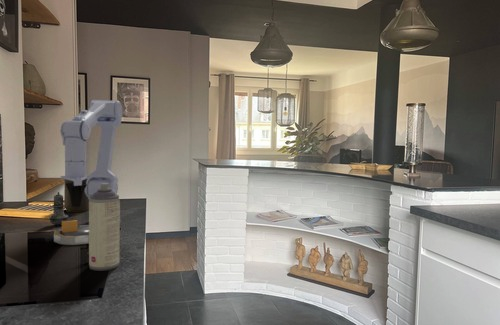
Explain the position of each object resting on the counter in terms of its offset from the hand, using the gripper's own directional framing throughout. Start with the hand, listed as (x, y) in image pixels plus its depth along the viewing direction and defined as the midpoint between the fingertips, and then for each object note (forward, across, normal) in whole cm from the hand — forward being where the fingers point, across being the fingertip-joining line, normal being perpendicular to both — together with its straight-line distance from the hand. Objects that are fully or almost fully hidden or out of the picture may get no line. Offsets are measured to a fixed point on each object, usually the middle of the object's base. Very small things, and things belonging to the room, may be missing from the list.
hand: (76, 206), depth 107 cm
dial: (+9, +2, +1) cm, 9 cm away
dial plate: (+10, +2, +1) cm, 10 cm away
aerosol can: (+10, +26, +4) cm, 29 cm away
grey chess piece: (+10, -17, -4) cm, 20 cm away
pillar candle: (+10, -44, +4) cm, 46 cm away
